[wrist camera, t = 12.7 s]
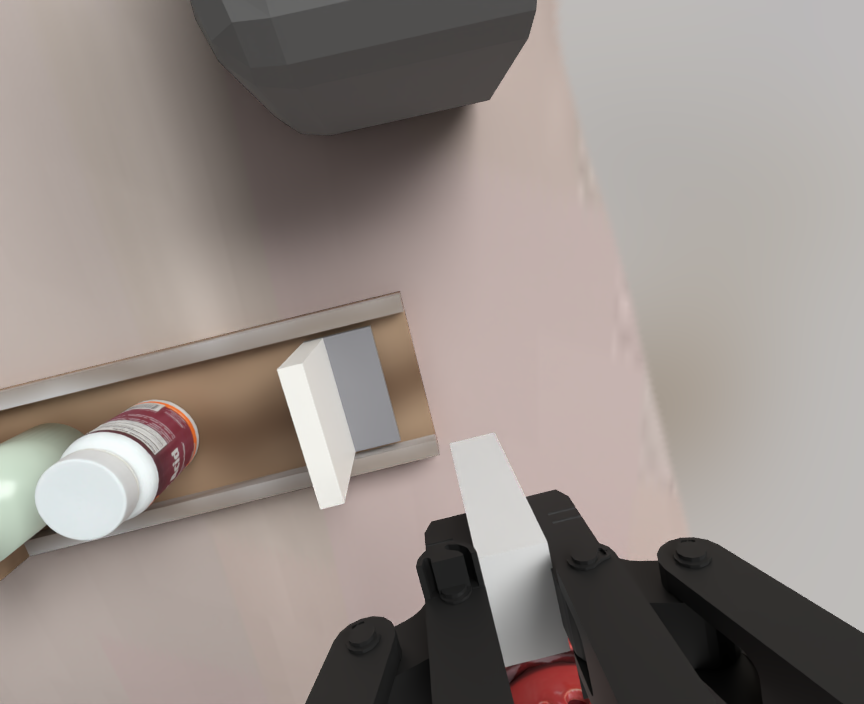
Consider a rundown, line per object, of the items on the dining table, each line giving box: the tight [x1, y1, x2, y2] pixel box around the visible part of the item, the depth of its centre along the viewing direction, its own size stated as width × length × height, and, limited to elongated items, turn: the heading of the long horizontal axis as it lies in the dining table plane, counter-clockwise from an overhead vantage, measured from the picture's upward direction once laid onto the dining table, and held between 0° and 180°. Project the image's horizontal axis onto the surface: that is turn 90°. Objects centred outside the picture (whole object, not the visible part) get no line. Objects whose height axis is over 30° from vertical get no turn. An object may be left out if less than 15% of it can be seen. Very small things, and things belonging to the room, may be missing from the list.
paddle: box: [277, 325, 401, 509], centre depth 29 cm, size 7×4×7 cm, turn 14°
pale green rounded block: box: [0, 423, 84, 561], centre depth 29 cm, size 5×5×7 cm
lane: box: [0, 291, 440, 581], centre depth 30 cm, size 10×27×7 cm, turn 103°
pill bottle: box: [35, 400, 199, 540], centre depth 28 cm, size 5×5×8 cm
